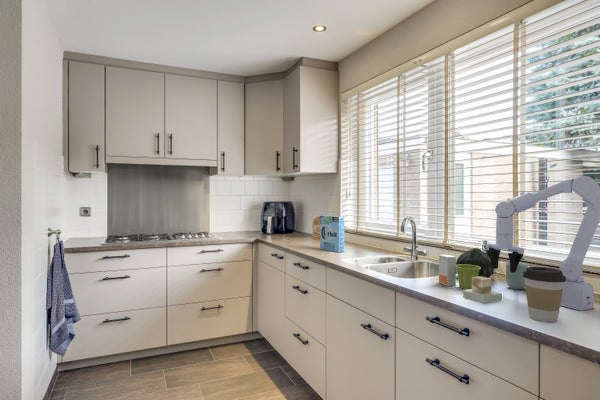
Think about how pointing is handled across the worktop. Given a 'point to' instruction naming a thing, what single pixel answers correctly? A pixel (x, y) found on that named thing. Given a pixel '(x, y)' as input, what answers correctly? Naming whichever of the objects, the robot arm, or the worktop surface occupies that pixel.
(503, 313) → the worktop surface
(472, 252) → the squash
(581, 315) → the worktop surface
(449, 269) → the skincare box
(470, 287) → the plant pot
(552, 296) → the coffee cup
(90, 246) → the worktop surface
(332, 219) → the gum box
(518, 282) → the cup
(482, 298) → the sage block
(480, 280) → the maple block
